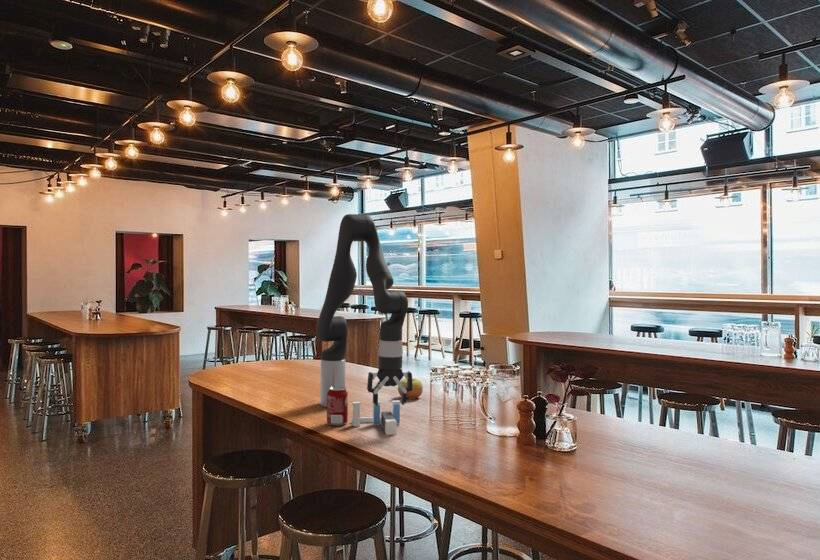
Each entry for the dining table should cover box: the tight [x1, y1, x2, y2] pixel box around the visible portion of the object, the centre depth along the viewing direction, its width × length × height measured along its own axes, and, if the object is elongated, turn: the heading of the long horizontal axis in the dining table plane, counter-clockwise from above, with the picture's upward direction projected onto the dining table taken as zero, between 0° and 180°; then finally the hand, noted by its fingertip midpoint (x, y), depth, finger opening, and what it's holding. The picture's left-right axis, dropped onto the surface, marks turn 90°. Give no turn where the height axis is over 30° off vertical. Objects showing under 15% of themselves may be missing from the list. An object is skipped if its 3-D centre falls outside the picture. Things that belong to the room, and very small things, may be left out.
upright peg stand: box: [351, 399, 401, 427], centre depth 187 cm, size 5×16×8 cm, turn 101°
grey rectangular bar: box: [380, 410, 398, 436], centre depth 181 cm, size 13×3×4 cm, turn 10°
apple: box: [397, 378, 424, 400], centre depth 225 cm, size 10×10×8 cm
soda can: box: [326, 386, 349, 427], centre depth 186 cm, size 7×7×12 cm
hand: (389, 404), depth 179 cm, fingers open, 8 cm apart
